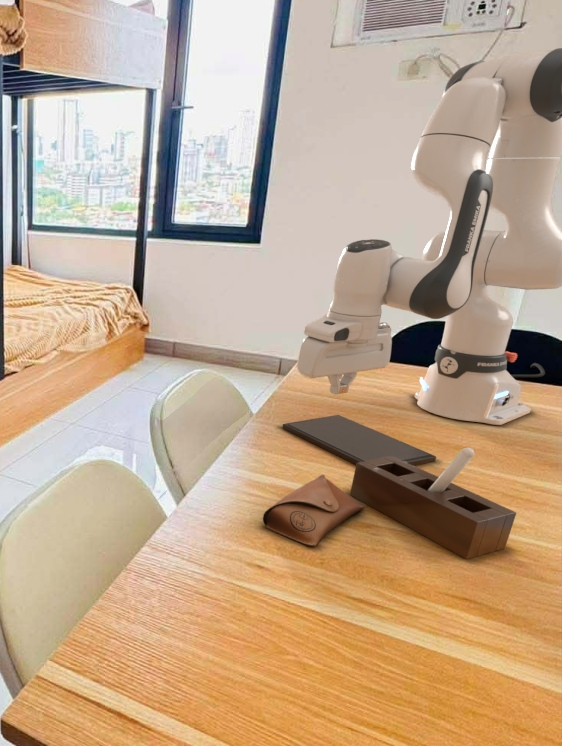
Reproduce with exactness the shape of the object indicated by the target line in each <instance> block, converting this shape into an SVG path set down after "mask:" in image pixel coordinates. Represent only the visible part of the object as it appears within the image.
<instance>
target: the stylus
mask: <svg viewBox="0 0 562 746" xmlns="http://www.w3.org/2000/svg"><path fill="white" fill-rule="evenodd" d="M475 453H476V452H475V450H474V449H473V448H471V447H464V448H462V449H461V450H460V451H459V452H458V454H457V455H456V456H455V457H454V458H453V460H451V462H450V463H449V464H448V465H447V467H446V468H445V469H444V470H443V471H442V473H441V474H440V475H439V476H437V477H438V479H437V480H436V481H435V482H434V483H433V485H432V486H431V487H430V488H429V489H428V491H429V492H431V493H433V494H435V493H439V492H443V491H444V490H445V489H446V488H447V487H448V485H449V484H450V483H453V481H455V479H456V478H457V476H458V475H459V474H460V473H461V472H462V471H463V469H464V468H466V466H467V465H468V464H469V463H470V461H471V460H472V459H473V458H474V457H475V455H476V454H475Z"/></svg>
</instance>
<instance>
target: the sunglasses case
mask: <svg viewBox="0 0 562 746" xmlns="http://www.w3.org/2000/svg"><path fill="white" fill-rule="evenodd" d="M365 508H366V506H365V505H363V504H361V503H359V502H358V501H357V500H355V498H354V497H352V496H351V495H350V494H347V493H346V492H345V491H343V490H342V489H341V488H340V487H338V486H337V485H336V484H334V483H333V482H332V481H331V480H329V479H328V478H326V476H325V474H321V475H319V476H317V477H316V478H314V479H313V480H311V481H309V482H307V483H305V484H304V485H301V486H300V487H298V488H297V489H296V490H294V491H292V492H290V493H289V494H288V495H286V496H284V497H283V498H282V499H280V500H279V501H277V502H276V503H274V504H273V505H272V506H270V507H269V508H268V509H266V510H265V511H264V512H263V515H262V522H263V524H264V526H265V528H266V529H268V530H269V531H272V532H273V533H276V534H278V535H280V536H282V537H284V538H287V539H289V540H291V541H294V542H297V543H300V544H302V545H306V546H309V547H316V546H318V545H319V544H320V542H321V541H322V540H323V538H325V537H326V535H328V534H329V533H330V532H331V531H333V530H334V529H335V528H337V527H338V526H340V525H341V524H343V523H344V522H345V521H347V520H349V519H350V518H351V517H353V516H355V515H356V514H358V513H359V512H361V511H362V510H364V509H365Z"/></svg>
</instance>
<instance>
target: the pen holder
mask: <svg viewBox="0 0 562 746" xmlns="http://www.w3.org/2000/svg"><path fill="white" fill-rule="evenodd" d="M438 477H439V476H438V475H435V474H433V473H431V472H429V471H427V470H424V469H422V468H419V467H417V466H416V465H414V466H413V465H411V464H409V463H406V462H404V461H402V460H400V459H398V458H395V457H393V456H390V457H384V458H379V459H374V460H369V461H364V462H359V463H357V464H356V465H355V468H354V473H353V479H352V481H351V482H352V483H351V486H350V492H349V496H350V497H352V498H354V499H356V500H358V501H360V502H361V503H364V504H366V505H368V506H369V507H371V508H373V509H375V510H376V511H378V512H380V513H382V514H384V515H385V516H387V517H389V518H391V519H393V520H394V521H397V522H399V523H400V524H402V525H404V526H405V527H407V528H409V529H411V530H412V531H414V532H416V533H418V534H420V535H422V536H423V537H425V538H427V539H429V540H431V541H432V542H434V543H436V544H438V545H439V546H442V547H443V548H445V549H446V550H449V551H450V552H452V553H454V554H456V555H457V556H460V557H462V558H463V559H465V560H468V559H472V558H475V557H479V556H482V555H483V556H484V555H486V554H489V553H494V552H497V551H501V550H504V549H506V547H507V544H508V540H509V537H510V534H511V531H512V528H513V525H514V522H515V519H516V516H517V511H514V510H512V509H510V508H508V507H505V506H503V505H501V504H499V503H496V502H495V501H492V500H491V499H488V498H485V497H483V496H481V495H479V494H478V493H474V492H472V491H471V490H469V489H466V488H463V487H462V486H459V485H457V484H455V483H453V482H451V483H450V484H449V485H448V487H447V488H446V489H445V490H444V491H443V492H439V493H435V494H433V493H431V492H429V491H428V489H429V488H430V487H431V486H432V485H433V483H434V482H435V481H436V480H437V479H438Z"/></svg>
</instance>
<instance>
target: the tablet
mask: <svg viewBox="0 0 562 746" xmlns="http://www.w3.org/2000/svg"><path fill="white" fill-rule="evenodd" d="M281 428H282V429H284V430H285V431H287V432H289V433H290V434H293V435H295V436H297V437H300V438H301V439H303V440H305V441H307V442H309V443H311V444H313V445H315V446H317V447H320V448H321V449H324V450H325V451H327V452H329V453H331V454H333V455H335V456H337V457H340V458H342V459H344V460H346V461H347V462H350V463H352V464H353V465H355V466H356V464H357V463H359V462H364V461H369V460H374V459H379V458H384V457H390V456H393V457H395V458H398V459H400V460H402V461H404V462H406V463H409V464H411V465H413V466H419V465H423V464H428V463H433V462H434V463H435V462H436V460H437V456H436V455H434V454H432V453H429V452H427V451H424V450H422V449H420V448H417V447H415V446H413V445H410V444H408V443H406V442H404V441H401V440H399V439H396V438H395V437H392V436H389V435H387V434H385V433H382V432H380V431H378V430H375V429H374V428H371V427H368V426H366V425H363V424H361V423H358V422H357V421H355V420H352V419H350V418H346V417H344V416H342V415H340V414H334V415H328V416H322V417H316V418H311V419H305V420H298V421H292V422H287V423H282V426H281Z"/></svg>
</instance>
